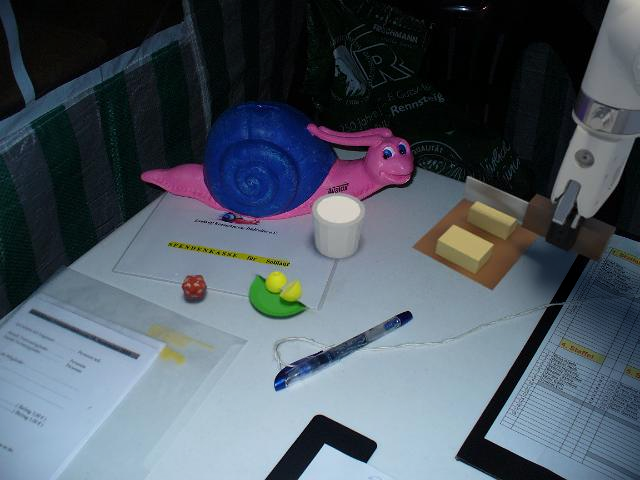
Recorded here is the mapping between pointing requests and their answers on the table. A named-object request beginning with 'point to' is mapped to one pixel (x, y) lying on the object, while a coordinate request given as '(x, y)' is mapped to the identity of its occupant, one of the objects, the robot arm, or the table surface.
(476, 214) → the butter slice
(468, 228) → the cutting board
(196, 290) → the die
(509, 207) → the knife
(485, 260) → the butter
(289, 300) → the green and yellow piece
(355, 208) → the white ramekin
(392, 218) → the table surface
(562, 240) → the robot arm
